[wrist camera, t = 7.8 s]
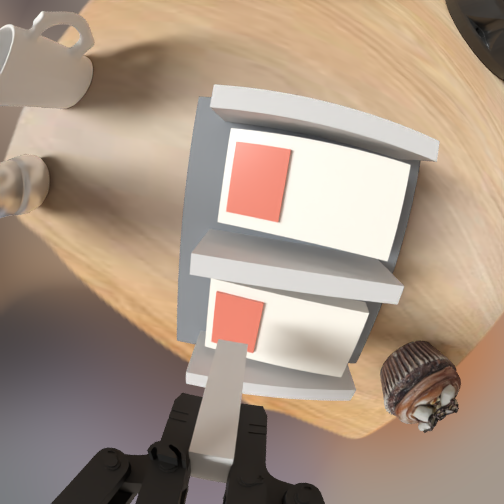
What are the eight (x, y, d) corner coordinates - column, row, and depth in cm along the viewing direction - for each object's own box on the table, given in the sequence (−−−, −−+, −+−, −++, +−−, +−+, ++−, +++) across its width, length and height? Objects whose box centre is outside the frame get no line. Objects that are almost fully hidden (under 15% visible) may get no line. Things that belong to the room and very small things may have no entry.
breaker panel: (393, 147, 20) (464, 146, 11) (343, 332, 27) (370, 402, 17) (212, 109, 20) (175, 75, 11) (190, 310, 26) (159, 380, 17)
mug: (58, 123, 20) (-28, 123, 9) (45, 82, 19) (-31, 71, 7) (130, 62, 19) (50, 19, 7) (111, 23, 17) (43, -21, 5)
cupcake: (418, 321, 26) (459, 377, 17) (447, 353, 28) (480, 401, 18) (359, 375, 29) (381, 439, 19) (396, 397, 30) (418, 450, 21)
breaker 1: (403, 165, 13) (411, 164, 12) (382, 253, 15) (388, 262, 14) (239, 131, 15) (229, 127, 14) (226, 217, 17) (216, 222, 16)
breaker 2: (365, 302, 17) (369, 314, 15) (340, 364, 18) (341, 379, 17) (218, 269, 18) (209, 279, 16) (211, 334, 20) (203, 347, 18)
